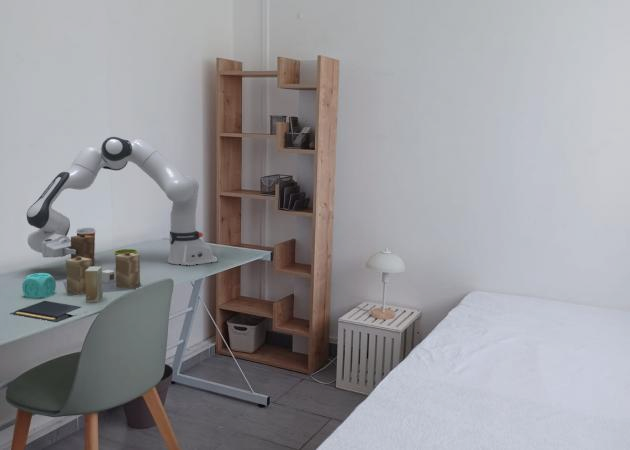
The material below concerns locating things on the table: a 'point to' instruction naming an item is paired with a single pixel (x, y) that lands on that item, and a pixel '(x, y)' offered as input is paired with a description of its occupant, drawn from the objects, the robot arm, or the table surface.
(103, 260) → the table surface
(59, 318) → the dark grey book
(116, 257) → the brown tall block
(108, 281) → the letter cube
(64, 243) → the robot arm
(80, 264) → the light brown wooden canister
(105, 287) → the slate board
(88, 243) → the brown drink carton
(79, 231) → the coffee cup
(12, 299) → the table surface
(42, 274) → the decorative dice
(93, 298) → the skincare box
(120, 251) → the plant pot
